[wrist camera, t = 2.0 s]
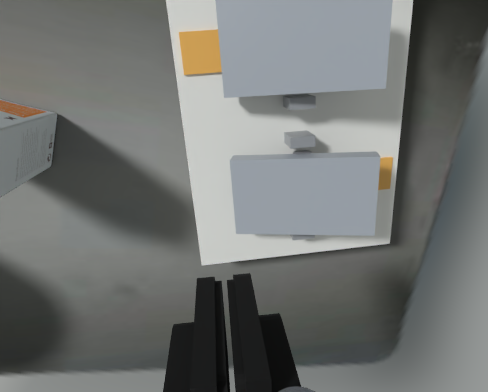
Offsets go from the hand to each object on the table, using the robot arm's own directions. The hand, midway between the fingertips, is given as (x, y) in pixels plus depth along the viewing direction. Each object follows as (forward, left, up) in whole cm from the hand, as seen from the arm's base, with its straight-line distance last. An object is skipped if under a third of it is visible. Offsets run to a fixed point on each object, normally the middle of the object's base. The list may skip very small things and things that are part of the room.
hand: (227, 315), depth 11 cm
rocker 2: (+1, +6, -12) cm, 14 cm away
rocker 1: (-8, +6, -12) cm, 16 cm away
